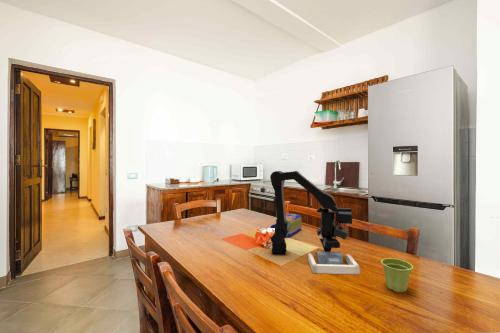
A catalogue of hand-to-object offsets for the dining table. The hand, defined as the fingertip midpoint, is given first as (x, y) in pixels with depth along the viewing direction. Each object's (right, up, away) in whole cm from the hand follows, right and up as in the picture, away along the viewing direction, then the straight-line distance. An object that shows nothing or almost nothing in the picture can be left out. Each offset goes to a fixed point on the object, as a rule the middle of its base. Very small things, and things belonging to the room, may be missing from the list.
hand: (327, 256), depth 110 cm
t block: (0, -1, -7) cm, 7 cm away
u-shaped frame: (-1, -1, -8) cm, 8 cm away
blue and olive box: (-12, -1, +39) cm, 40 cm away
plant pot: (+16, -2, -26) cm, 30 cm away
